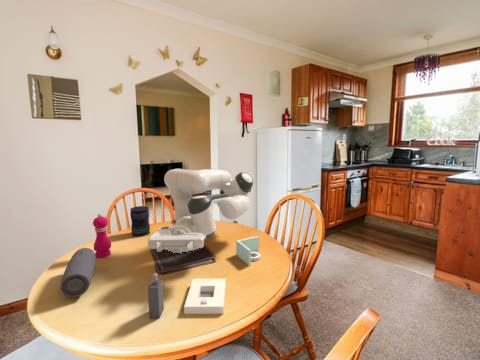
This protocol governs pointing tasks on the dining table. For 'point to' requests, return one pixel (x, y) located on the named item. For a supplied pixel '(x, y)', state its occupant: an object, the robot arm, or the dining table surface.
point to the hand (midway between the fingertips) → (172, 249)
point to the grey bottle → (155, 297)
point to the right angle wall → (248, 249)
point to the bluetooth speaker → (78, 273)
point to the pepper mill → (101, 237)
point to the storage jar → (140, 221)
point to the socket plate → (206, 297)
